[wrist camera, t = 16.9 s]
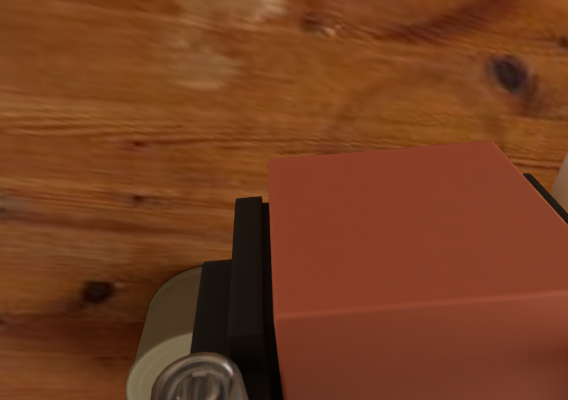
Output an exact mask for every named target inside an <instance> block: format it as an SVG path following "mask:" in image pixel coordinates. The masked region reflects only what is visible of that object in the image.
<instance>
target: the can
mask: <svg viewBox="0 0 568 400" xmlns="http://www.w3.org/2000/svg"><path fill="white" fill-rule="evenodd" d="M201 271H202V266H201V267H196V268H193V269H190V270H187V271H184V272H182V273H180V274H178V275H176V276H174V277H173V278H171V279H170V280H169V281H167V282H166V283H165V284H164V285H163V286H162V287H161V288H160V289H159V290H158V291H157V292H156V294H155V295H154V297H153V299H152V301H151V303H150V305H149V309H148V312H147V318H146V321H145V325H144V328H143V332H142V336H141V339H140V343H139V347H138V351H137V354H136V358H135V361H134V363H133V364H132V367H131V369H130V371H129V374H128V378H127V382H126V397H127V400H150V399H151V389H152V386H153V384H154V382H155V380H156V378H157V376H158V375H159V374H160V373H161V372H162V371H163V370H164V368H165V367H166V366H168V365H169V364H171V363H172V362H174V361H175V360H177V359H178V358H181V357H184V356H186V355H189V354H190V349H191V342H192V335H193V328H194V320H195V313H196V306H197V299H198V292H199V285H200V278H201Z"/></svg>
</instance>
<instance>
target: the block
mask: <svg viewBox="0 0 568 400" xmlns="http://www.w3.org/2000/svg"><path fill="white" fill-rule="evenodd" d="M268 187H269V213H270V239H271V264H272V290H273V316H274V326H275V335H276V344H277V352H278V361H279V370H280V379H281V387H282V396H283V400H568V225H567V224H566V222H565V221H564V220H563V219H562V218H561V217H560V216H559V215H558V214H557V212H556V211H555V210H554V209H553V208H552V207H551V206H550V205H549V204H548V202H547V201H546V200H545V199H544V198H543V197H542V196H541V195H540V194H539V192H538V191H537V190H536V189H535V188H534V187H533V186H532V185H531V183H530V182H529V181H528V180H527V179H526V178H525V177H524V176H523V175H522V173H521V172H520V171H519V170H518V169H517V168H516V167H515V166H514V165H513V163H512V162H511V161H510V160H509V159H508V158H507V157H506V156H505V155H504V153H503V152H502V151H501V150H500V149H499V148H498V147H497V146H496V145H495V143H494V142H493V141H477V142H466V143H454V144H442V145H431V146H419V147H408V148H396V149H384V150H373V151H361V152H350V153H338V154H327V155H315V156H303V157H292V158H280V159H271V160H269V161H268Z"/></svg>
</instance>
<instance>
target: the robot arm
mask: <svg viewBox="0 0 568 400" xmlns="http://www.w3.org/2000/svg"><path fill="white" fill-rule="evenodd" d="M522 175H523V176H524V177H525V178H526V179H527V180H528V181H529V182H530V183H531V185H532V186H533V187H534V188H535V189H536V190H537V191H538V192H539V194H540V195H541V196H542V197H543V198H544V199H545V200H546V201H547V202H548V204H549V205H550V206H551V207H552V208H553V209H554V210H555V211H556V212H557V214H558V215H559V216H560V217H561V218H562V219H563V220H564V221H565V222H566V224H567V225H568V213H567V212H566V211H565V210H564V209H563V208H562V207H561V206H560V205H559V204H558V203H557V202H556V200H555V199H554V198H553V197H552V196H551V195H550V194H549V193H548V192H547V191H546V190H545V189H544V187H543V186H542V185H541V184H540V183H539V182H538V181H537V180H536V179H535V178H534V177H533V176H532V175H531V174H522ZM150 400H283V396H282V387H281V379H280V370H279V361H278V352H277V344H276V335H275V326H274V316H273V290H272V264H271V239H270V213H269V202H268V203H262V197H261V196H260V197H248V198H237V199H236V203H235V219H234V234H233V250H232V259H231V260H220V261H208V262H204V263H203V265H202V271H201V278H200V285H199V292H198V299H197V306H196V313H195V320H194V328H193V335H192V342H191V349H190V354H189V355H186V356H184V357H181V358H178V359H177V360H175V361H174V362H172V363H171V364H169V365H168V366H166V367H165V368H164V370H163V371H162V372H161V373H160V374H159V375H158V376H157V378H156V380H155V382H154V384H153V386H152V389H151V399H150Z"/></svg>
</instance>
